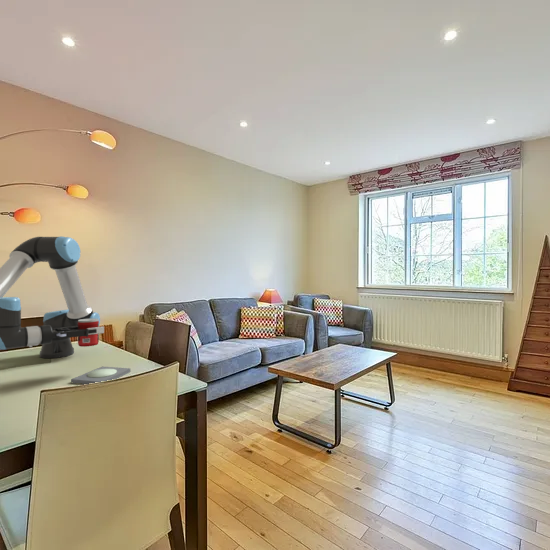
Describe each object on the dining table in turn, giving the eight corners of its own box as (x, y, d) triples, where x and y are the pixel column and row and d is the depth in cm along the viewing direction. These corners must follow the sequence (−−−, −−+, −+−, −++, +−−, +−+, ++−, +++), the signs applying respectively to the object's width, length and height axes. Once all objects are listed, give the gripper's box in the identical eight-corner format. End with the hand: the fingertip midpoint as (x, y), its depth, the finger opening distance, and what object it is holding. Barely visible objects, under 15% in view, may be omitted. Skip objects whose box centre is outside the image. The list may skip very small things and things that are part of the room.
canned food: (102, 344, 149) (102, 319, 149) (84, 347, 143) (84, 321, 142) (92, 342, 153) (92, 317, 153) (74, 345, 147) (74, 320, 146)
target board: (102, 369, 152) (102, 365, 152) (130, 371, 149) (130, 367, 149) (71, 383, 134) (71, 378, 134) (102, 385, 132) (102, 380, 132)
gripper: (33, 340, 142) (92, 333, 159) (45, 349, 128) (109, 340, 144) (33, 323, 142) (92, 317, 158) (45, 329, 128) (109, 322, 144)
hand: (100, 328), depth 151 cm, fingers closed on canned food, 8 cm apart
